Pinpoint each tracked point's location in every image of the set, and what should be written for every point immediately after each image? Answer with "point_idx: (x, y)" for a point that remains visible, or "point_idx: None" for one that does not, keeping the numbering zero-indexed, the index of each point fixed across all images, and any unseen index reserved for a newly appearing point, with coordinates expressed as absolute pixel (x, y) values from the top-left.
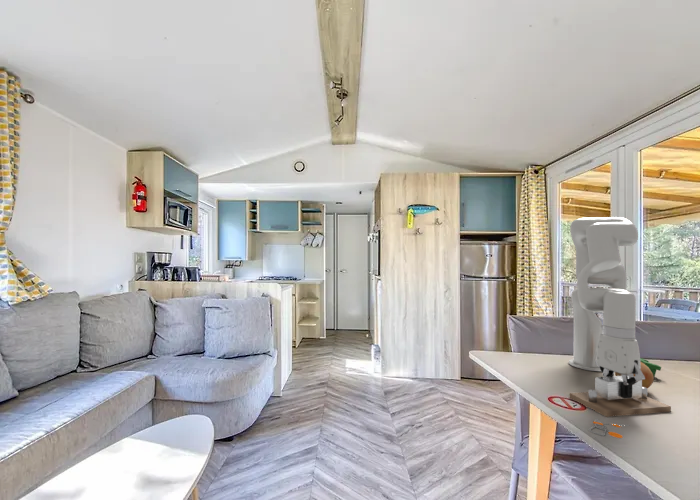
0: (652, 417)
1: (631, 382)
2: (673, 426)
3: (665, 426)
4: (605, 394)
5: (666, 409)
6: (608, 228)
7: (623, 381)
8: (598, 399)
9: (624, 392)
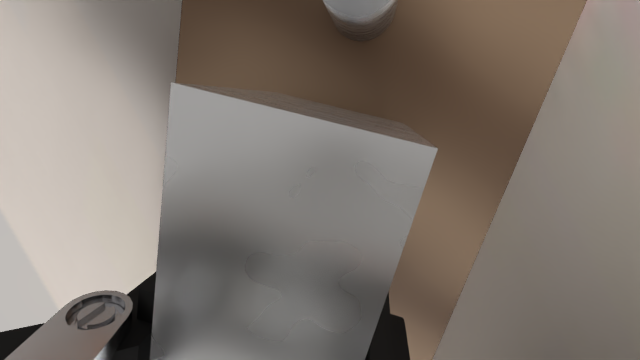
0: (144, 224)
1: (5, 334)
2: (58, 203)
3: (62, 164)
4: (286, 96)
5: None
6: None
7: (110, 327)
8: (363, 106)
9: None
